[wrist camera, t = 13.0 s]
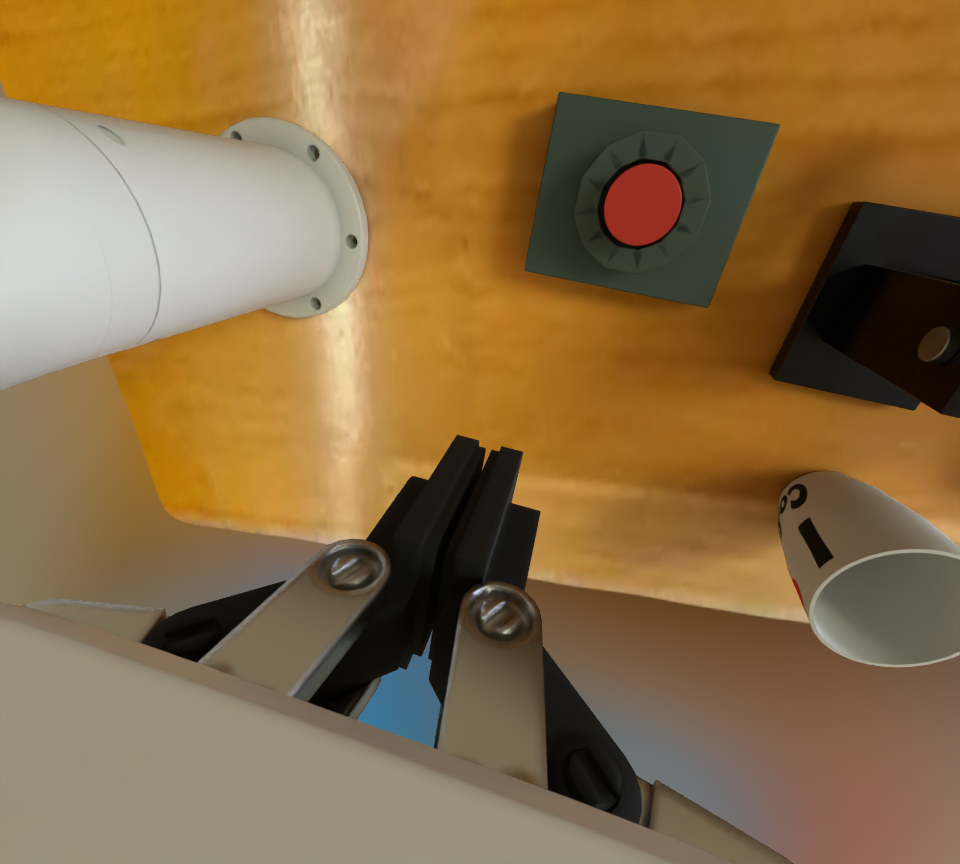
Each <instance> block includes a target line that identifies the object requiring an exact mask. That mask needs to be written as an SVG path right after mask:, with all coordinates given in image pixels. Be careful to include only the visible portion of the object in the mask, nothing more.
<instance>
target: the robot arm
mask: <svg viewBox="0 0 960 864" xmlns="http://www.w3.org/2000/svg"><path fill="white" fill-rule="evenodd" d="M318 151H319V157H318ZM355 238H357V242H358V243H357V244H356V242H355ZM368 239H369V238H368V226H367V217H366V213H365V209H364V205H363V201H362V198H361V195H360V193H359V191H358V188H357V186H356V183H355V181H354V179H353V177H352V176H351V174H350V172H349V171H348V169H347V167H346V166H345V164H344V162H343V161H342V160H341V159H340V158H339V156H338V155H337V154H336V153H335V152H334V151H333V149H332V148H331V147H330V146H329V145H328V144H326V143H325V142H324V141H323V140H322V139H320V138H319V137H318V136H317V135H316V134H314V133H312V132H311V131H309V130H307V129H305V128H303V127H302V126H300V125H298V124H294V123H291V122H288V121H285V120H281V119H276V118H270V117H256V118H248V119H245V120H243V121H240V122H237V123H235V124H233V125H232V126H230V127H229V128H228V129H226V130H225V131H224V132H222V133H221V134H220V135H219V136H215V135H209V134H203V133H198V132H192V131H187V130H181V129H176V128H170V127H165V126H159V125H154V124H148V123H143V122H137V121H132V120H126V119H121V118H115V117H110V116H104V115H99V114H93V113H88V112H82V111H77V110H71V109H65V108H60V107H54V106H49V105H43V104H38V103H32V102H27V101H22V100H16V99H11V98H5V97H0V391H2V390H5V389H8V388H10V387H13V386H16V385H18V384H21V383H24V382H26V381H29V380H32V379H34V378H37V377H40V376H43V375H46V374H49V373H52V372H55V371H58V370H61V369H64V368H67V367H70V366H73V365H76V364H79V363H83V362H86V361H89V360H92V359H95V358H99V357H102V356H106V355H109V354H112V353H116V352H119V351H122V350H127V349H130V348H134V347H137V346H140V345H144V344H147V343H150V342H153V341H157V340H160V339H163V338H167V337H170V336H173V335H177V334H180V333H183V332H187V331H190V330H193V329H196V328H200V327H203V326H206V325H210V324H213V323H216V322H220V321H223V320H226V319H230V318H233V317H236V316H240V315H243V314H246V313H249V312H253V311H256V310H259V309H263V308H264V309H266V310H268V311H269V312H272V313H275V314H278V315H281V316H285V317H293V318H305V317H313V316H316V315H319V314H322V313H325V312H327V311H329V310H331V309H333V308H336V307H337V306H338V305H339V304H341V303H342V302H343V301H344V300H346V299H347V298H348V297H349V295H350V294H351V293H352V291H353V290H354V289H355V288H356V286H357V284H358V282H359V280H360V278H361V276H362V273H363V270H364V266H365V263H366V259H367V252H368ZM320 302H321V303H320ZM485 451H486V448H483V447H479V440H475V439H471V438H468V437H464V436H460V435H457V436H456V437H455V439H454V440H453V442H452V444H451V445H450V447H449V448H448V450H447V451H446V453H445V455H444V456H443V458H442V459H441V461H440V463H439V464H438V466H437V467H436V469H435V470H434V472H433V474H432V475H431V477H430V478H429V480H426V479H422V478H418V477H415V476H412V477H411V478H410V479H409V480H408V481H407V483H406V484H405V485H404V487H403V488H402V490H401V491H400V492H399V494H398V495H397V497H396V498H395V500H394V501H393V502H392V504H391V505H390V507H389V508H388V509H387V511H386V512H385V514H384V515H383V516H382V518H381V519H380V521H379V522H378V524H377V525H376V526H375V528H374V529H373V531H372V532H371V533H370V535H369V536H368V538H367V539H366V540H361V539H348V540H341V541H337V542H335V543H332V544H330V545H328V546H326V547H325V548H323V549H322V550H320V551H319V552H318V553H317V554H316V555H315V556H314V557H312V558H311V559H310V560H309V561H308V562H307V563H306V564H305V565H304V566H303V567H302V568H300V569H299V570H298V571H297V572H296V573H295V574H294V575H293V576H292V577H291V578H289V579H288V580H286V581H283V582H279V583H275V584H272V585H268V586H265V587H262V588H258V589H254V590H251V591H247V592H244V593H241V594H237V595H233V596H230V597H226V598H223V599H219V600H216V601H212V602H209V603H205V604H201V605H198V606H195V607H191V608H189V609H186V610H183V611H181V612H178V613H175V614H174V615H172V616H167V615H166V611H165V609H157V608H147V607H137V606H126V605H117V604H107V603H96V602H87V601H77V600H66V599H46V600H45V599H44V600H40V601H36V602H33V603H29V604H25V605H23V606H19V605H13V604H7V603H1V602H0V864H793V863H792V862H791V861H789V860H788V859H787V858H786V857H784V856H783V855H781V854H779V853H777V852H776V851H774V850H772V849H771V848H769V847H768V846H766V845H764V844H763V843H761V842H759V841H757V840H756V839H754V838H753V837H751V836H749V835H748V834H746V833H744V832H743V831H741V830H739V829H738V828H736V827H734V826H733V825H731V824H729V823H728V822H726V821H724V820H723V819H721V818H719V817H717V816H716V815H714V814H713V813H711V812H709V811H708V810H706V809H704V808H703V807H701V806H699V805H698V804H696V803H694V802H692V801H691V800H689V799H688V798H686V797H684V796H683V795H681V794H679V793H678V792H676V791H674V790H672V789H671V788H669V787H668V786H666V785H665V784H663V783H661V782H660V781H658V780H656V781H655V782H654V784H653V785H652V784H650V783H648V782H647V781H645V780H643V779H641V778H640V777H638V776H637V775H636V774H635V772H634V770H633V768H632V767H631V765H630V763H629V762H628V760H627V758H626V757H625V755H624V754H623V753H622V751H621V750H620V749H619V747H618V746H617V745H616V743H615V742H614V741H613V739H612V738H611V737H610V735H609V734H608V732H607V731H606V730H605V729H604V727H603V726H602V725H601V723H600V722H599V721H598V719H597V718H596V716H595V715H594V714H593V712H592V711H591V710H590V708H589V707H588V706H587V704H586V703H585V702H584V700H583V699H582V698H581V697H580V695H579V694H578V692H577V691H576V690H575V689H574V687H573V686H572V684H571V683H570V682H569V680H568V679H567V678H566V676H565V675H564V674H563V672H562V671H561V670H560V668H559V667H558V666H557V664H556V663H555V662H554V660H553V659H552V658H551V656H550V655H549V654H548V652H547V651H546V650H545V648H544V647H543V644H542V620H541V615H540V610H539V608H538V606H537V605H536V603H535V601H534V600H533V599H532V598H531V597H530V596H529V595H528V594H527V593H526V592H525V586H526V581H527V576H528V571H529V566H530V561H531V556H532V552H533V547H534V542H535V537H536V532H537V527H538V522H539V517H540V511H538V510H534V509H531V508H527V507H523V506H520V505H516V504H513V503H511V502H512V498H513V494H514V489H515V485H516V481H517V477H518V473H519V468H520V464H521V460H522V456H523V452H522V451H518V450H514V449H510V448H506V447H501V449H500V451H495V450H492V451H491V453H490V455H489V457H488V459H487V461H486V464H485V466H484V468H483V470H482V467H483V462H484V457H485ZM432 630H433V632H432ZM431 632H432V638H431V644H430V651H429V657H428V658H429V659H430V660H432V663H431V669H430V675H429V681H430V683H431V685H432V687H433V689H434V691H435V693H436V695H437V697H438V699H439V701H440V703H441V707H440V713H439V719H438V724H437V730H436V736H435V743H434V748H432V747H429V746H427V745H424V744H421V743H418V742H416V741H413V740H410V739H407V738H405V737H402V736H398V735H396V734H394V733H391V732H388V731H385V730H382V729H380V728H377V727H374V726H371V725H369V724H366V723H363V722H360V721H358V720H357V719H358V718H359V716H360V714H361V713H362V712H363V710H364V709H365V707H366V705H367V704H368V702H369V701H370V699H371V698H372V696H373V695H374V693H375V692H376V690H377V688H378V686H379V684H380V681H381V676H383V675H386V674H388V673H390V672H392V671H395V670H397V669H398V668H399V667H400V668H403V669H407V667H408V664H409V662H410V660H411V657H412V655H413V654H415V655H418V656H422V654H423V652H424V649H425V647H426V644H427V642H428V639H429V637H430V635H431Z"/></svg>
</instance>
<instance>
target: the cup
mask: <svg viewBox="0 0 960 864" xmlns="http://www.w3.org/2000/svg"><path fill="white" fill-rule="evenodd" d="M778 529H779V534H780V539H781V543H782V547H783V551H784V555H785V559H786V563H787V567H788V571H789V574H790V576H791V578H792V581H793V583H794V586H795V588H796V590H797V593H798V595H799V598H800V600H801V602H802V605H803V607H804V610H805V612H806V614H807V617H808V619H809V622H810V624H811V626H812V629H813V631H814V632H815V634H816V636H817V637H818V638H819V639H820V640H821V641H822V642H823V643H824V644H825V645H826V646H827V647H829V648H830V649H831V650H833V651H835V652H836V653H838V654H840V655H842V656H844V657H846V658H849V659H851V660H854V661H858V662H862V663H866V664H871V665H877V666H886V667H910V666H919V665H927V664H932V663H936V662H940V661H944V660H946V659H950V658H953V657H955V656H958V655H960V547H959V546H958V545H957V544H955V543H954V542H953V541H952V540H951V539H949V538H948V537H947V536H946V535H945V534H943V533H942V532H941V531H940V530H938V529H937V528H936V527H935V526H934V525H932V524H931V523H930V522H929V521H928V520H926V519H925V518H923V517H922V516H920V515H919V514H917V513H916V512H914V511H912V510H911V509H909V508H908V507H906V506H905V505H903V504H901V503H900V502H898V501H897V500H895V499H894V498H892V497H890V496H889V495H887V494H886V493H884V492H883V491H881V490H879V489H878V488H876V487H874V486H871V485H869V484H866V483H864V482H861V481H859V480H857V479H854V478H852V477H849V476H847V475H844V474H842V473H838V472H832V471H819V472H813V473H809V474H806V475H803V476H801V477H799V478H797V479H795V480H794V481H792V482H791V483H790V484H789V485H788V486H787V487H786V488H785V489H784V490H783V492H782V494H781V496H780V498H779V509H778Z"/></svg>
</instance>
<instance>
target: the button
mask: <svg viewBox="0 0 960 864" xmlns="http://www.w3.org/2000/svg"><path fill="white" fill-rule="evenodd" d="M681 203H682V194H681V188H680V185H679V183H678V181H677V179H676V177H675V176H674V175H673V174H672V173H671V172H670V171H669V170H668V169H666V168H665V167H663V166H660V165H657V164H640V165H637V166H634V167H632V168H630V169H628V170H626V171H625V172H623V173H622V174H621V175H620V176H619V177H618V178H617V179H616V180H615V181H614V183H613V184H612V186H611V187H610V189H609V191H608V193H607V196H606V199H605V204H604V217H605V222H606V225H607V227H608V229H609V231H610V232H611V234H612V235H613V236H614V237H615V238H616V239H618V240H619V241H621V242H623V243H625V244H628V245H634V246H640V245H646V244H650V243H652V242H654V241H656V240H658V239H660V238H661V237H662V236H664V235H665V234H666V233H667V232H668V231H669V230H670V229H671V228H672V226H673V225H674V223H675V221H676V220H677V218H678V215H679V213H680V209H681Z"/></svg>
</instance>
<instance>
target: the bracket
mask: <svg viewBox="0 0 960 864" xmlns="http://www.w3.org/2000/svg"><path fill="white" fill-rule="evenodd" d="M769 375H770V376H771V377H772V378H773V379H774V380H777V381H782V382H786V383H791V384H795V385H800V386H804V387H809V388H814V389H818V390H823V391H827V392H832V393H836V394H841V395H845V396H850V397H854V398H859V399H864V400H868V401H873V402H877V403H882V404H886V405H891V406H895V407H900V408H904V409H909V410H915V409H916V408H917V406H918V405H919V403H920V402H922V403H924V404H926V405H927V406H929V407H930V408H932V409H934V410H935V411H937V412H939V413H940V414H943V415H948V416H952V417H957V418H960V217H955V216H949V215H943V214H937V213H931V212H925V211H919V210H913V209H907V208H901V207H895V206H889V205H883V204H877V203H870V202H853V203H852V205H851V207H850V209H849V211H848V213H847V215H846V218H845V220H844V222H843V224H842V226H841V228H840V230H839V232H838V234H837V236H836V238H835V240H834V242H833V244H832V246H831V248H830V250H829V252H828V254H827V256H826V258H825V260H824V262H823V264H822V266H821V268H820V270H819V272H818V274H817V276H816V278H815V280H814V282H813V285H812V287H811V289H810V291H809V293H808V295H807V297H806V299H805V301H804V303H803V305H802V307H801V309H800V311H799V313H798V315H797V317H796V319H795V321H794V323H793V325H792V327H791V329H790V331H789V333H788V335H787V337H786V339H785V341H784V343H783V345H782V347H781V350H780V352H779V354H778V356H777V358H776V360H775V362H774V364H773V366H772V368H771V370H770V372H769Z"/></svg>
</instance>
